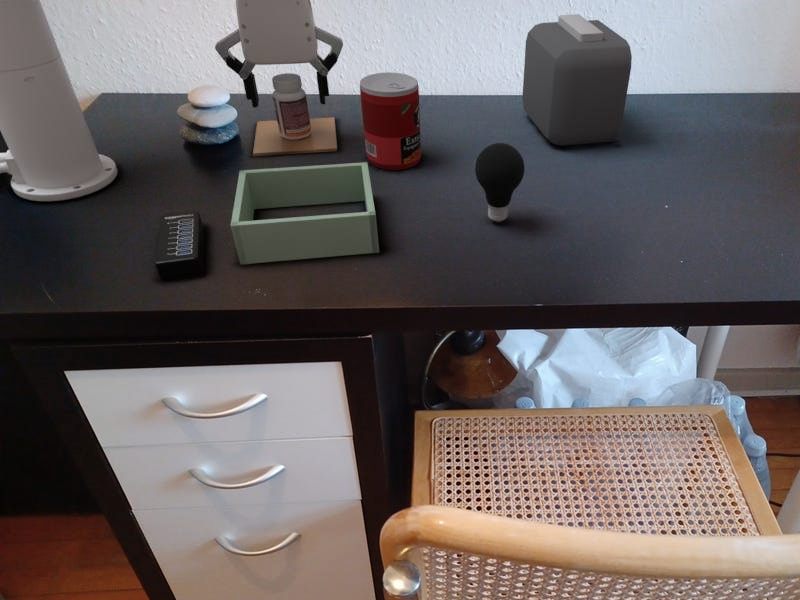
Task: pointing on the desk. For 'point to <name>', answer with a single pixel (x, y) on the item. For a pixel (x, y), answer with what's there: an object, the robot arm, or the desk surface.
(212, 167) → the desk surface
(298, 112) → the pill bottle
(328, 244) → the open box
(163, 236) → the multiport hub
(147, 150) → the desk surface
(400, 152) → the canned food
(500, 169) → the light bulb
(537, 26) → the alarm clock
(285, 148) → the coaster
